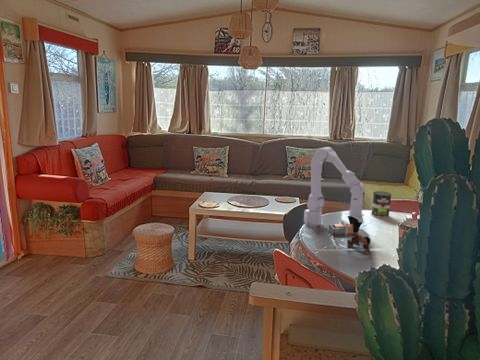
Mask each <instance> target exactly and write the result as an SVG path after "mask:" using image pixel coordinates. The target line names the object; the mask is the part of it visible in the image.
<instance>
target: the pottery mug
mask: <svg viewBox="0 0 480 360" xmlns="http://www.w3.org/2000/svg"><path fill="white" fill-rule="evenodd" d="M346 243H347V245H346V246H347V247H348V248H351V249H353V247H354V245H355V246H356V247H357V246H358V247H360V246H361V245H360V243H361V244H362V245H363V247H364V248H365V249H364V250H363V253H364V255H365V256H366V255H368V254H369V253H370V247H369V245H370V244H371V238H370V236H361V235H357V236H351V238H350V239H348V240H346Z"/></svg>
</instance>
